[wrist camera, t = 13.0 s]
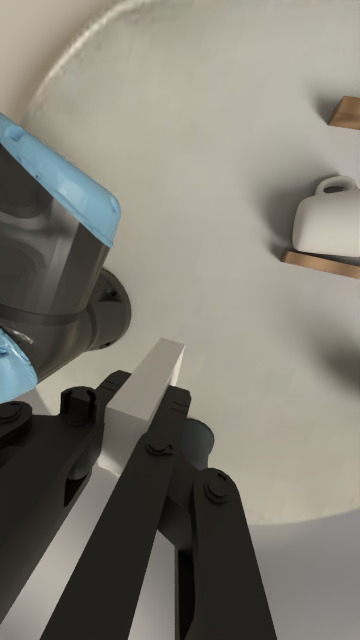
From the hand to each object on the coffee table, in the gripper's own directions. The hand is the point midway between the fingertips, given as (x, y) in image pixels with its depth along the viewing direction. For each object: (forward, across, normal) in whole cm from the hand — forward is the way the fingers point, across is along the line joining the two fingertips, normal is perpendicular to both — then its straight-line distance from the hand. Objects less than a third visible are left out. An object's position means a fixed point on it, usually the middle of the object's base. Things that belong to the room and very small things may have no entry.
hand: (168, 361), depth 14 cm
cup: (+24, +9, +13) cm, 29 cm away
